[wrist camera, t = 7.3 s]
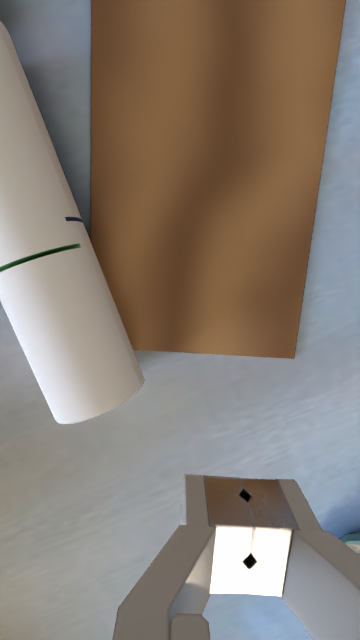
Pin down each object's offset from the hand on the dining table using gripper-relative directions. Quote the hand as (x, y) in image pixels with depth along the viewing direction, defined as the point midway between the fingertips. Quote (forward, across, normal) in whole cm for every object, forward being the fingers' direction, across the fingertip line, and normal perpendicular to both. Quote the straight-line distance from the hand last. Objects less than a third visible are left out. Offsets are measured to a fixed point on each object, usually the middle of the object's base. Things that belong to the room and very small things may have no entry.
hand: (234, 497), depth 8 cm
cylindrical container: (+15, +7, +5) cm, 17 cm away
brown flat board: (+19, 0, -12) cm, 23 cm away
